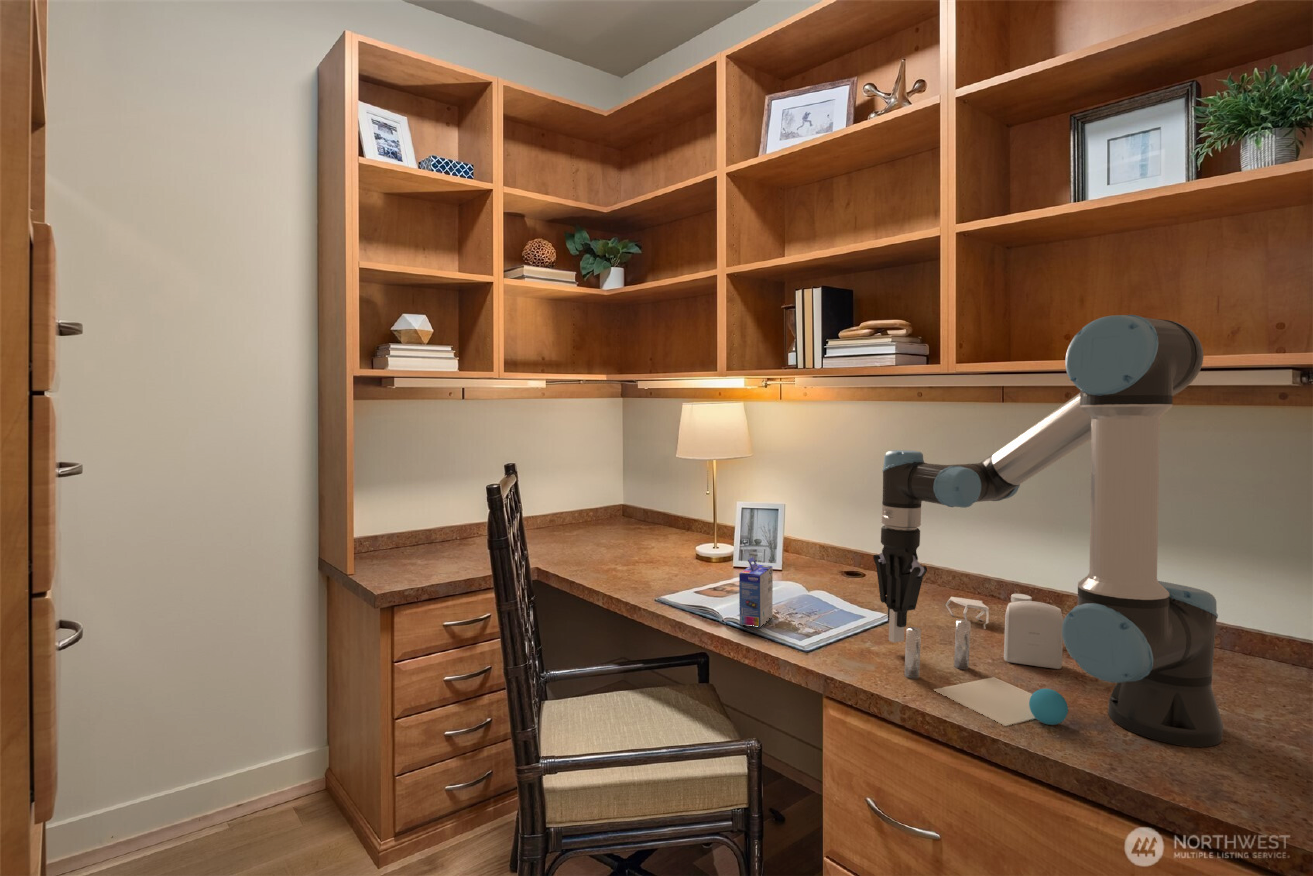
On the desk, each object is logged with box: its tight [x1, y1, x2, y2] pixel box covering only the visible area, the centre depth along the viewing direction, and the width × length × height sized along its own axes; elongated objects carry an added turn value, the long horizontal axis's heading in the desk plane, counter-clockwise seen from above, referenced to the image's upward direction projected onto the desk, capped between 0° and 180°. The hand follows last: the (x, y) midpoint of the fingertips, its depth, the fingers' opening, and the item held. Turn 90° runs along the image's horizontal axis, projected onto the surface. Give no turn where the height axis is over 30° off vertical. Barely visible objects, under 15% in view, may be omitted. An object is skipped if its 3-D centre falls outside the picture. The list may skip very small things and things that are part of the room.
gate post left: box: [904, 626, 922, 680], centre depth 135 cm, size 3×3×9 cm
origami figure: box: [945, 596, 990, 629], centre depth 169 cm, size 12×8×5 cm
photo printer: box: [1003, 601, 1065, 670], centre depth 142 cm, size 10×4×12 cm, turn 66°
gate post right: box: [953, 618, 971, 670], centre depth 140 cm, size 3×3×9 cm
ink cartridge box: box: [738, 556, 774, 628], centre depth 166 cm, size 10×6×14 cm, turn 155°
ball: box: [1029, 688, 1069, 726], centre depth 116 cm, size 6×6×6 cm
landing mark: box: [933, 676, 1070, 727], centre depth 125 cm, size 15×15×1 cm
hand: (896, 640), depth 147 cm, fingers closed
